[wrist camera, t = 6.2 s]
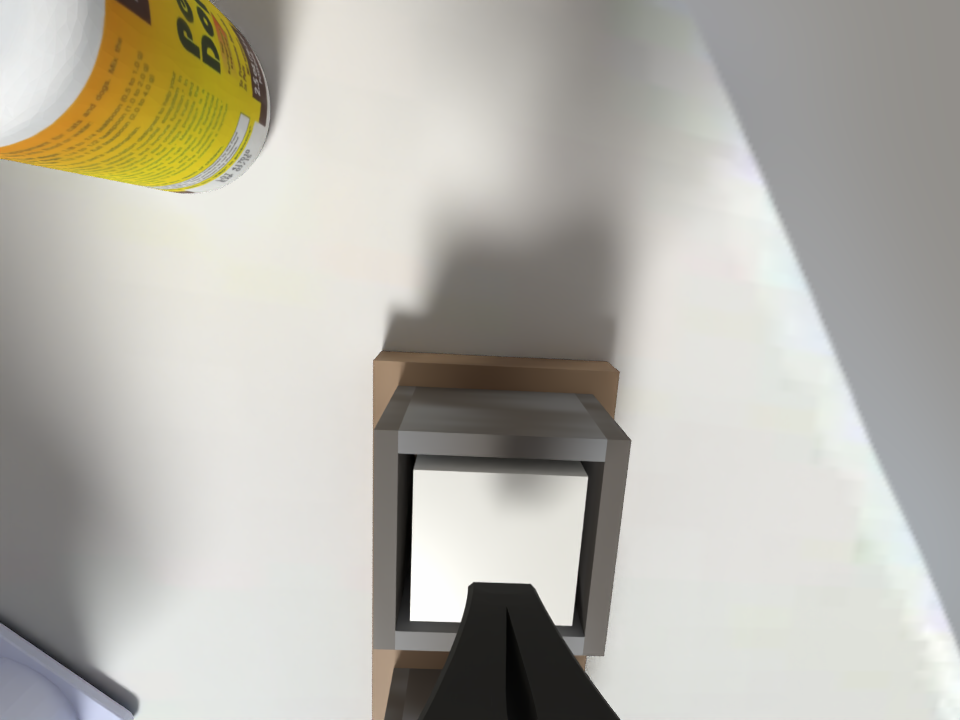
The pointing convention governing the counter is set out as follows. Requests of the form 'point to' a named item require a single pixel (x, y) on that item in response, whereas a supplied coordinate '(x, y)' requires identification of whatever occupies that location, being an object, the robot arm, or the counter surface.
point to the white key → (495, 531)
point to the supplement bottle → (131, 91)
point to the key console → (484, 433)
